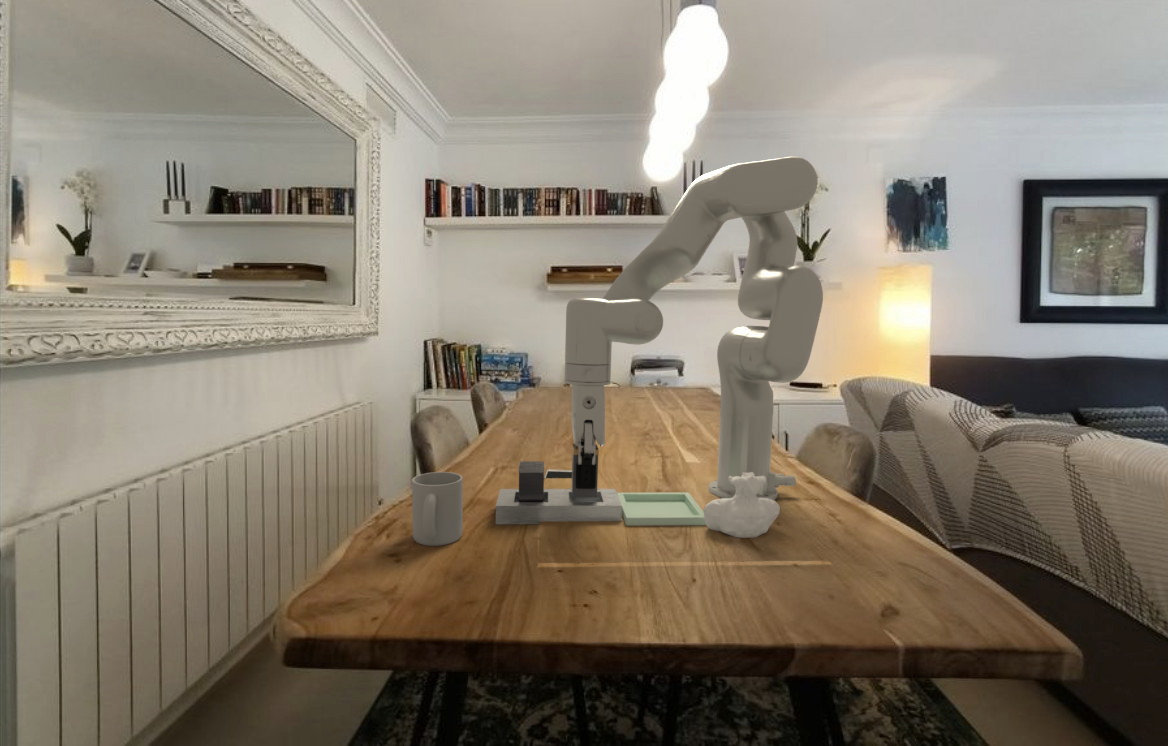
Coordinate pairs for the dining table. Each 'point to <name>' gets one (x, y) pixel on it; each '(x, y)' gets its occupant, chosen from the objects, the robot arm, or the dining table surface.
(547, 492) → the pdu strip
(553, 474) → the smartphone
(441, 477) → the cup
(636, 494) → the tray
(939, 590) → the dining table surface
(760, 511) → the white tied sack
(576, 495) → the rectangular block
